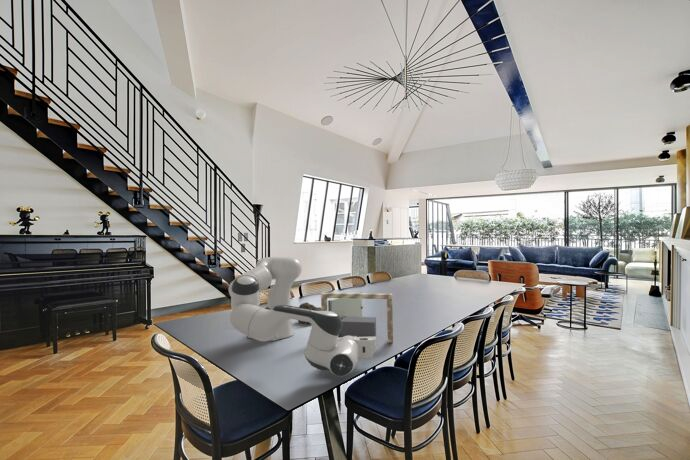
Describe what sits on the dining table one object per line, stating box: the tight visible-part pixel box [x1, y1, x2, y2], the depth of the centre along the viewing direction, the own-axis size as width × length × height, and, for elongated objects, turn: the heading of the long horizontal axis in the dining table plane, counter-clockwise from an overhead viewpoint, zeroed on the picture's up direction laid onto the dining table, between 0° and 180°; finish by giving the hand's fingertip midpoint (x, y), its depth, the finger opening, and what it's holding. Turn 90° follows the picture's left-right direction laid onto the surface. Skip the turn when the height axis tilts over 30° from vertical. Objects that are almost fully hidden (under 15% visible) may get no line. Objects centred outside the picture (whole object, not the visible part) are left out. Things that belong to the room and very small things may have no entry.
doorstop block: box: [340, 316, 377, 337], centre depth 149 cm, size 16×9×9 cm, turn 80°
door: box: [327, 291, 364, 336], centre depth 157 cm, size 27×3×18 cm, turn 143°
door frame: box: [320, 292, 394, 344], centre depth 144 cm, size 33×2×22 cm, turn 80°
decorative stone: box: [297, 302, 321, 324], centre depth 178 cm, size 16×11×15 cm
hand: (353, 337), depth 125 cm, fingers closed
